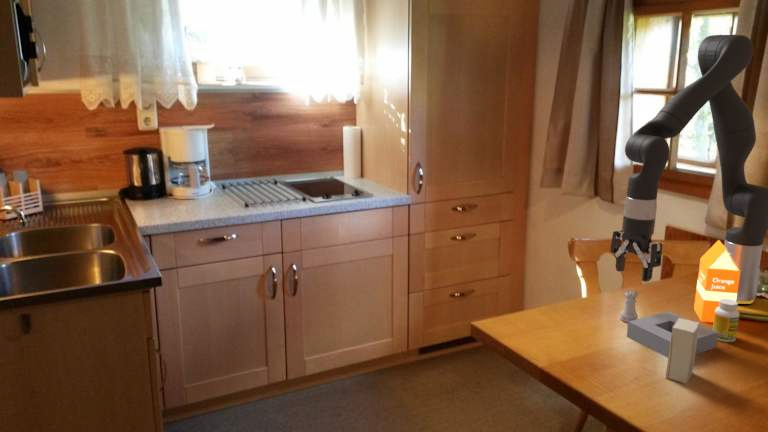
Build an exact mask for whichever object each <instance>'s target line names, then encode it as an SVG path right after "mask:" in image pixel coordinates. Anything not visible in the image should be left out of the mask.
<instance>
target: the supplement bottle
mask: <svg viewBox="0 0 768 432" xmlns="http://www.w3.org/2000/svg"><path fill="white" fill-rule="evenodd" d="M719 306H720V307H717V308H716V309H715V314H714V322H712V323H713V324H712V328H711V330H713V331H715V332H717V333H718V334H717V341H720V342H725V343H731V342H735V341H736V340H737V335H738V328H739V321H740V312H739V310H738V307H739V305H738V302H736V301H734V300H731V299H720V301H719Z"/></svg>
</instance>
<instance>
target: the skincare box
mask: <svg viewBox="0 0 768 432" xmlns="http://www.w3.org/2000/svg"><path fill="white" fill-rule="evenodd" d="M683 318H684V317H682V318H678V320H677V321H676V322H675V324H674V326H673V328H672V335H671V342H670V349H669V356H668V357H667V364H666V371H665V378H666V379H669V380H672V381H676V382H679V383H681V384H682V383H683V384H685V385H686V384H687V383H688V382H689V380H690V378H691V377H692V374H693V371H694V364H695V356H696V354H695V352H696V345H697V339H698V332H699V325H701V323H700V322H701V321H700V322H699V321H694V320H690V319H687V318H685V319H683Z"/></svg>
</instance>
